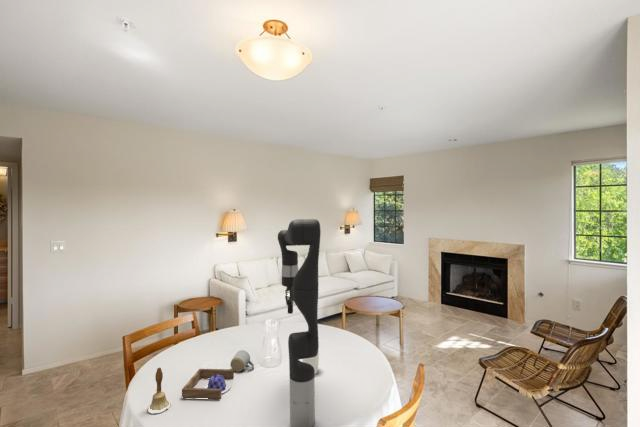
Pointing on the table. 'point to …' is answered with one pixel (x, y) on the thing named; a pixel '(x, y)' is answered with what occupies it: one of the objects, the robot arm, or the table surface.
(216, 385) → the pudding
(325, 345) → the table surface
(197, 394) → the corral
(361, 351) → the table surface
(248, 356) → the ceramic mug
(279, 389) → the table surface
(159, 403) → the hand bell
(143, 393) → the table surface
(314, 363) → the white cup
